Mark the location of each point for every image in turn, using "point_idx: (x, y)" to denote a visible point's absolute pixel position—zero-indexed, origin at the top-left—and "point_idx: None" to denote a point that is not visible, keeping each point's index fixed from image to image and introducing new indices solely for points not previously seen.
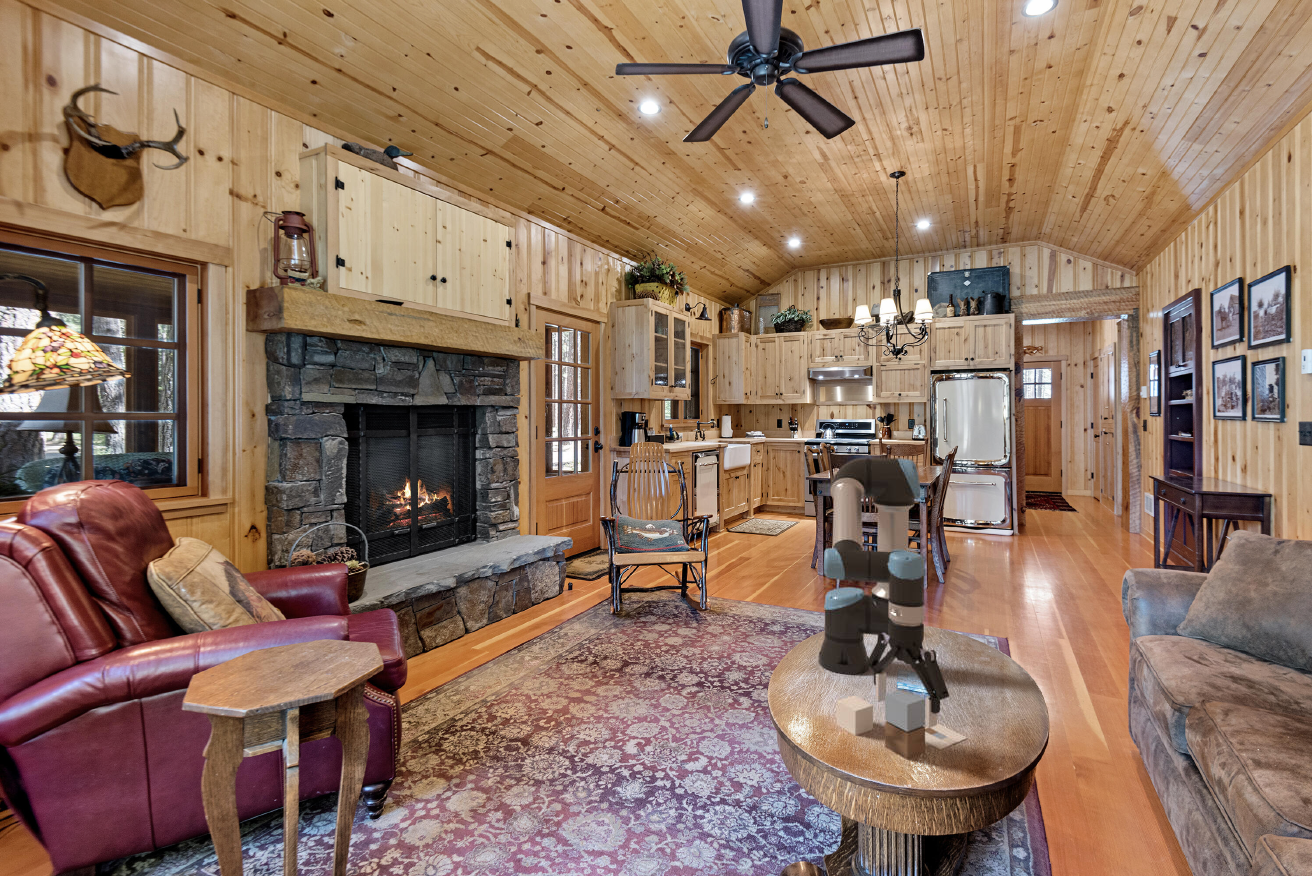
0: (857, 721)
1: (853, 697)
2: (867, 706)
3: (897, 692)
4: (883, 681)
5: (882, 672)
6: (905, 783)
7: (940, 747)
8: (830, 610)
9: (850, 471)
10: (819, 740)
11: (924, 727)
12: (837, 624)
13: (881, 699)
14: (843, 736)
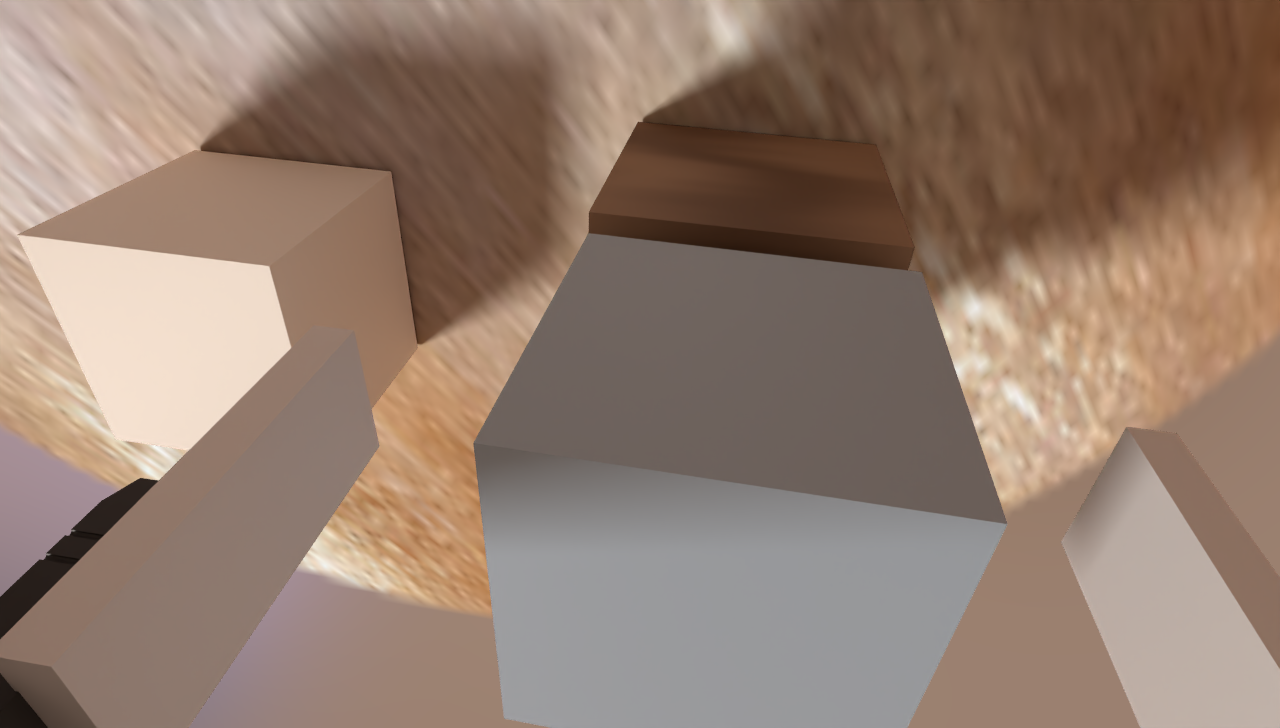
0: (367, 389)
1: (61, 275)
2: (275, 329)
3: (541, 600)
4: (198, 577)
5: (24, 693)
6: None
7: None
8: None
9: None
10: (381, 519)
11: (909, 257)
12: None
13: (359, 415)
14: (392, 400)
